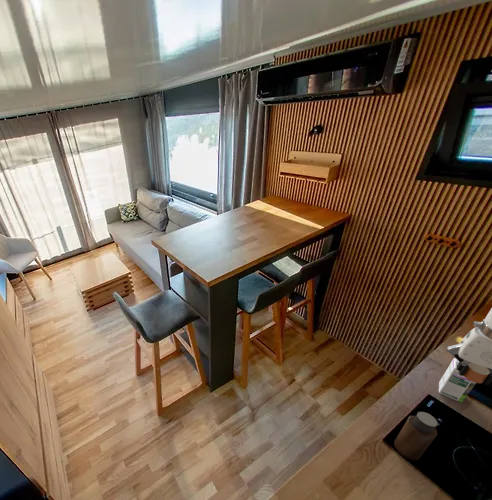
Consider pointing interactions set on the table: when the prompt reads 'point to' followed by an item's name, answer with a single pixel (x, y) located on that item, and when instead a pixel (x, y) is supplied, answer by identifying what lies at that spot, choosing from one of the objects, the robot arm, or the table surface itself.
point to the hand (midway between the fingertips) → (473, 376)
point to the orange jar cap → (476, 373)
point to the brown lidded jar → (413, 440)
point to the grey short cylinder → (425, 422)
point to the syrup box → (455, 383)
